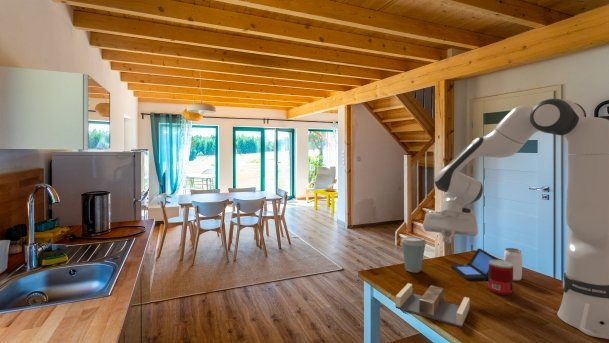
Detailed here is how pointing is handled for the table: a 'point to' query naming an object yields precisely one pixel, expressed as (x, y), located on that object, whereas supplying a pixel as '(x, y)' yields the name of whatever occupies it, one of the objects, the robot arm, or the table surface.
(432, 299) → the walnut block
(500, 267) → the canned food
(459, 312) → the rubber mat with end rails
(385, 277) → the table surface
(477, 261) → the handheld game console
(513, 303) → the table surface
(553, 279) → the table surface
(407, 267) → the disposable coffee cup
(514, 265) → the can
